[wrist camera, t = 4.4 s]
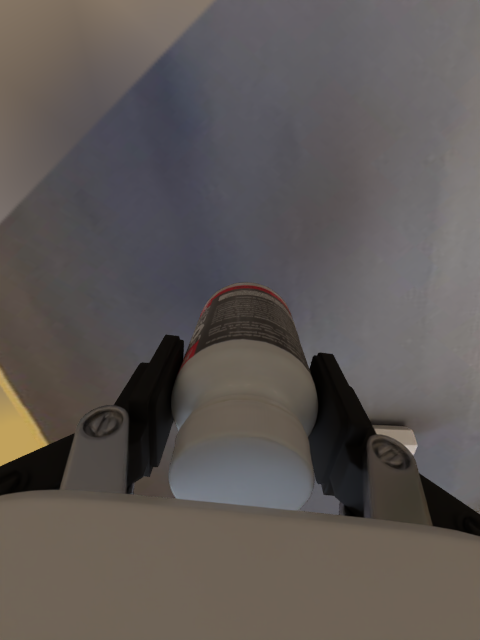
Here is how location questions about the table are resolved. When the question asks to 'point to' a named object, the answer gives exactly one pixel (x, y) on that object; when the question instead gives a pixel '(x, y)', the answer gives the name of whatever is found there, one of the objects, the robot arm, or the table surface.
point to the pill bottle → (244, 405)
